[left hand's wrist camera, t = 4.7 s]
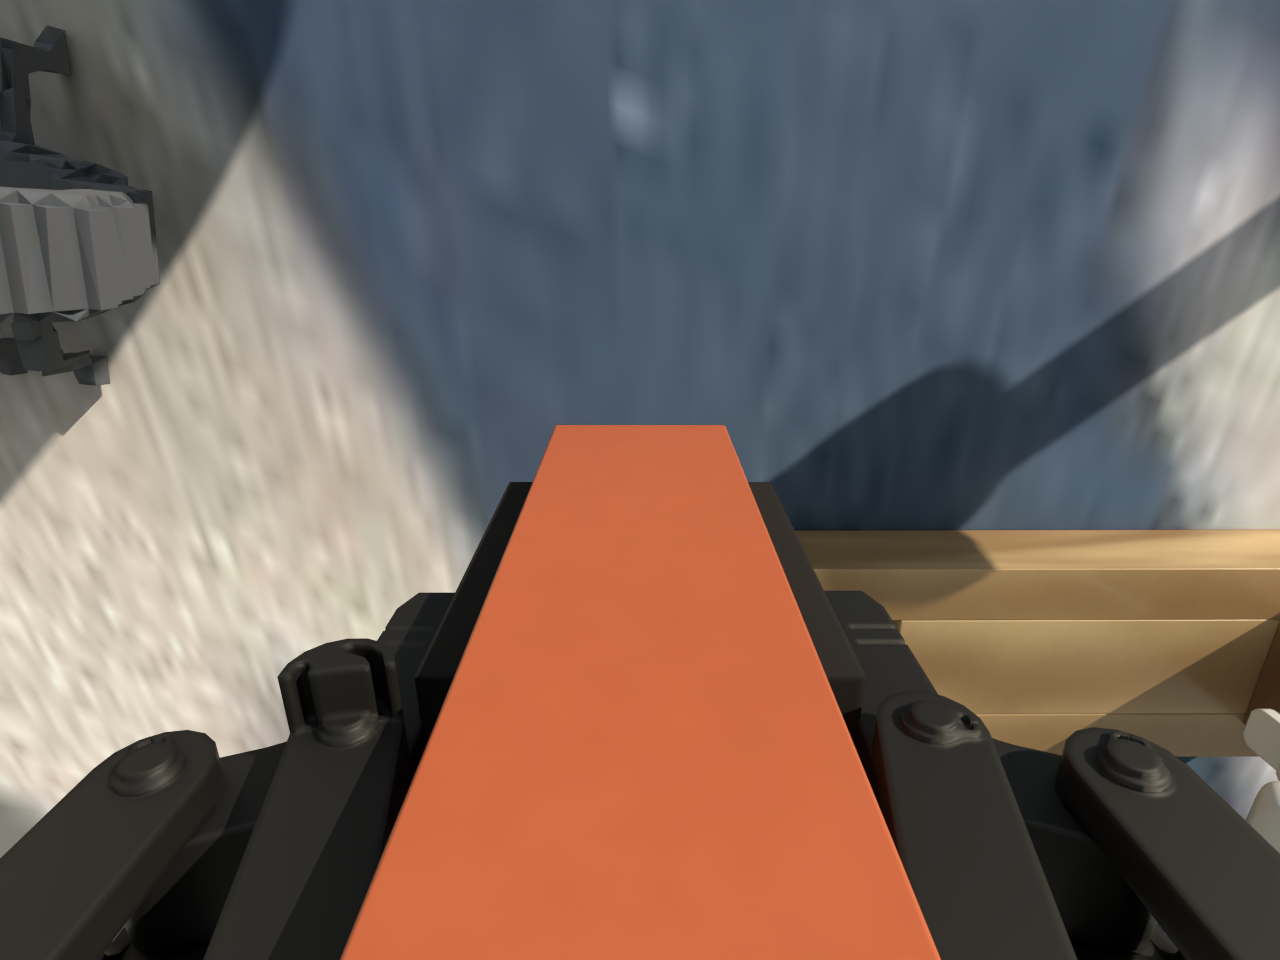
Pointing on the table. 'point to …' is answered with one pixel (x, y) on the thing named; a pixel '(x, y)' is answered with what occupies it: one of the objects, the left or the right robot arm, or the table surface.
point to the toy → (61, 230)
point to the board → (1080, 626)
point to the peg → (640, 742)
